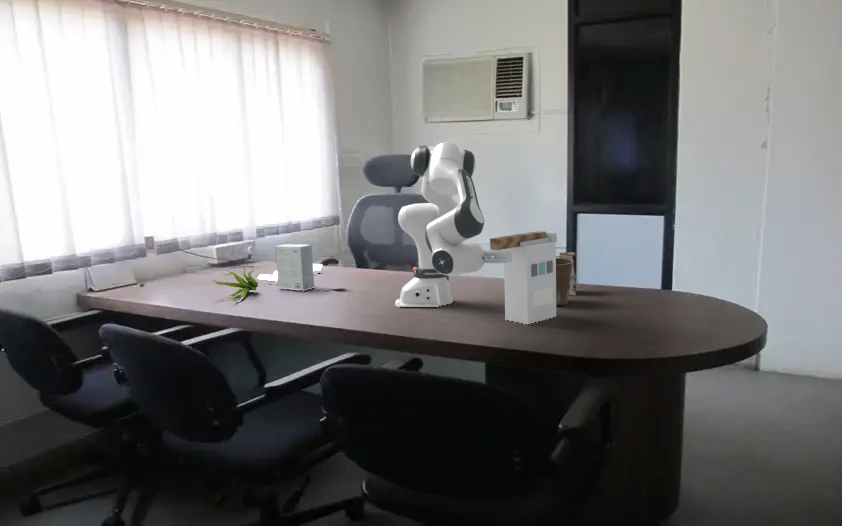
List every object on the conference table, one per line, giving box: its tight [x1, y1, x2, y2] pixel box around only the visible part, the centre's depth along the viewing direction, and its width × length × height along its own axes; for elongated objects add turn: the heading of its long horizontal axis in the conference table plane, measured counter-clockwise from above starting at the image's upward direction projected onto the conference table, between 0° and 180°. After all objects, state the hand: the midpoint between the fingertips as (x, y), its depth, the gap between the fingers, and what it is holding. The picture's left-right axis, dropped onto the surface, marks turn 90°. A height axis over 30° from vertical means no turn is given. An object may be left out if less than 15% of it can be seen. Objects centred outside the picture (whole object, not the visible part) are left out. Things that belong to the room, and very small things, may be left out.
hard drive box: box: [274, 243, 315, 290], centre depth 298 cm, size 16×8×20 cm, turn 58°
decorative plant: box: [208, 265, 259, 303], centre depth 281 cm, size 18×30×15 cm, turn 150°
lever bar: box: [489, 230, 547, 250], centre depth 222 cm, size 24×4×4 cm, turn 131°
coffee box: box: [559, 251, 577, 296], centre depth 267 cm, size 9×6×16 cm
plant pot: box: [556, 257, 573, 307], centre depth 251 cm, size 16×16×16 cm
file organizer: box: [256, 263, 324, 282], centre depth 329 cm, size 13×35×5 cm, turn 148°
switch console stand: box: [503, 232, 558, 325], centre depth 227 cm, size 16×10×29 cm
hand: (491, 254), depth 214 cm, fingers open, 8 cm apart
